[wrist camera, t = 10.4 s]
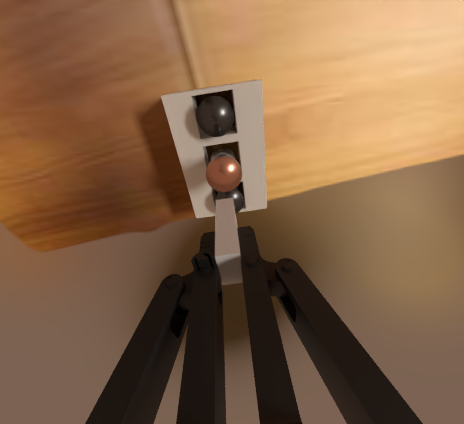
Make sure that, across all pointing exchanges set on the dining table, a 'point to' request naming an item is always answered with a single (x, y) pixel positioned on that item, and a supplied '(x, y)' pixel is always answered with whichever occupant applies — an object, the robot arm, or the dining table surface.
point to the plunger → (232, 194)
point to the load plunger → (223, 170)
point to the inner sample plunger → (215, 116)
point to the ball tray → (195, 141)
